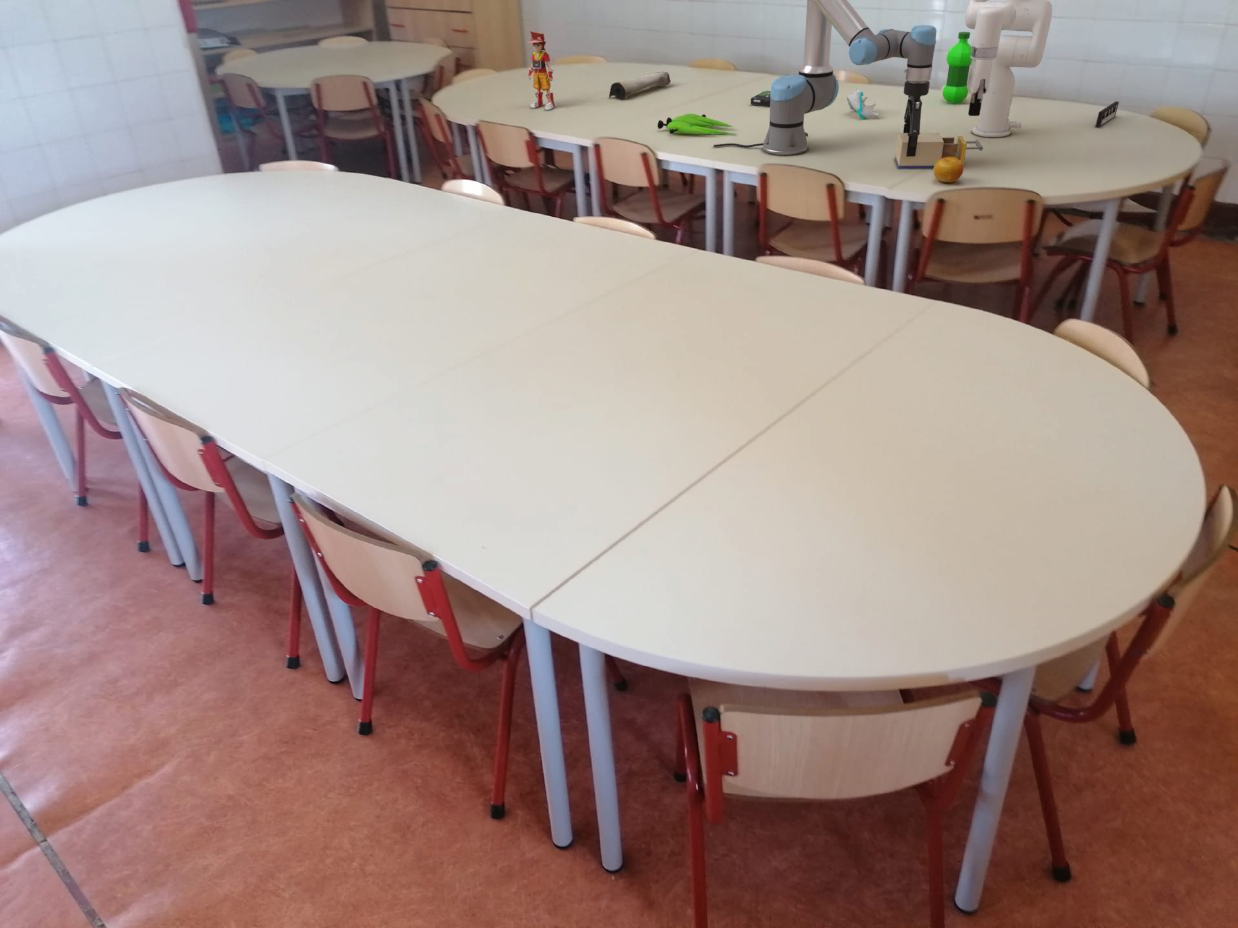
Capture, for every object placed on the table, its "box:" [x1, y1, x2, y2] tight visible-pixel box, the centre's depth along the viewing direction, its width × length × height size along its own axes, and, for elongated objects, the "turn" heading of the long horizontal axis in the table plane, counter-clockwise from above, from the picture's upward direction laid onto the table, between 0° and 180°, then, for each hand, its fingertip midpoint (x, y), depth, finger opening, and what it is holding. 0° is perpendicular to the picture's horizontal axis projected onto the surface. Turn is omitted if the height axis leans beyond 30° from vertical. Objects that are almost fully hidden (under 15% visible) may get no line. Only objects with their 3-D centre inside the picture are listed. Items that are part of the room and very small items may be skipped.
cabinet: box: [895, 132, 944, 169], centre depth 291 cm, size 13×11×8 cm
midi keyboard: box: [1095, 100, 1120, 128], centre depth 320 cm, size 18×1×5 cm, turn 138°
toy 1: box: [527, 31, 556, 111], centre depth 374 cm, size 12×9×30 cm
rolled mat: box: [608, 71, 672, 101], centre depth 395 cm, size 30×9×10 cm
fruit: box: [933, 157, 965, 183], centre depth 275 cm, size 8×9×8 cm
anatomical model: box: [846, 88, 881, 120], centre depth 344 cm, size 15×10×10 cm
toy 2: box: [657, 113, 735, 135], centre depth 338 cm, size 28×5×30 cm
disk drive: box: [750, 90, 771, 107], centre depth 369 cm, size 10×3×15 cm
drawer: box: [941, 135, 984, 165], centre depth 289 cm, size 17×9×6 cm, turn 81°
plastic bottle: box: [942, 31, 972, 104], centre depth 348 cm, size 10×10×25 cm
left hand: (908, 150), depth 291 cm, fingers open, 13 cm apart
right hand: (973, 115), depth 282 cm, fingers closed
